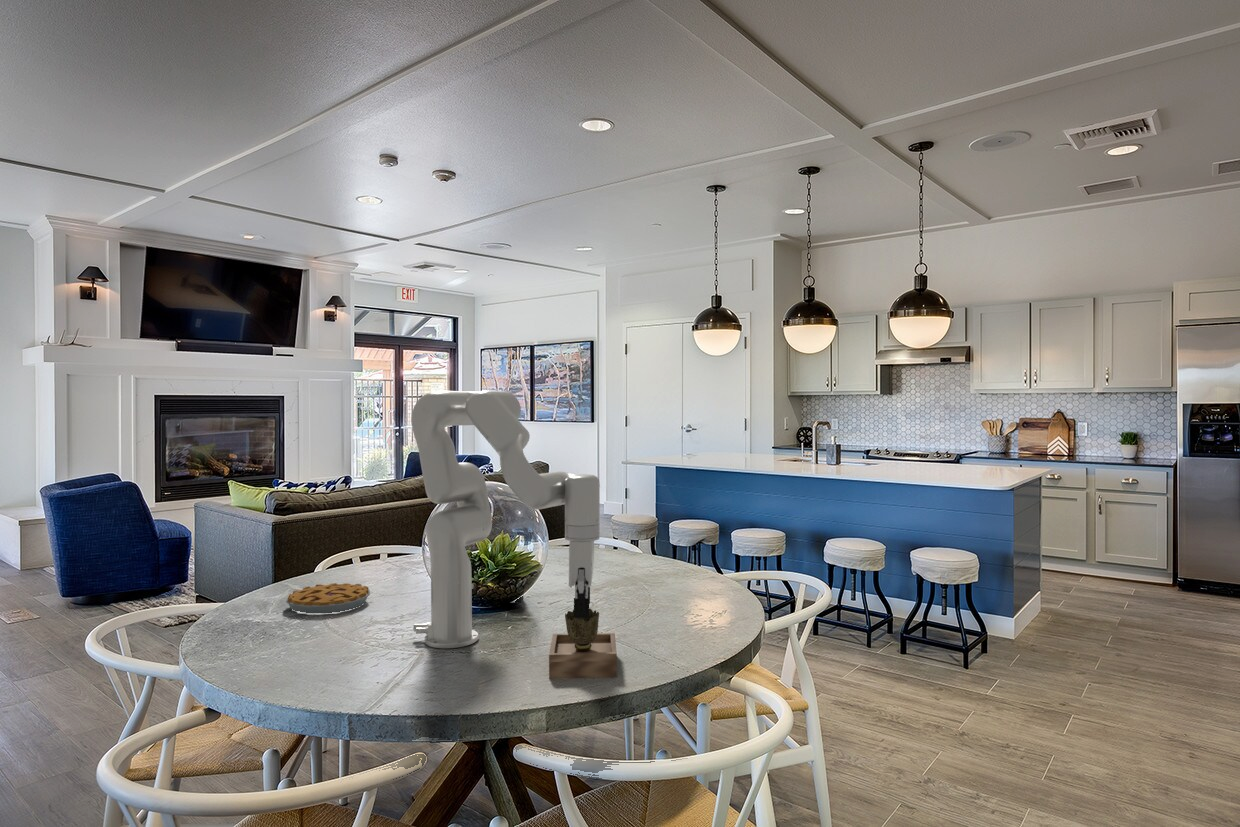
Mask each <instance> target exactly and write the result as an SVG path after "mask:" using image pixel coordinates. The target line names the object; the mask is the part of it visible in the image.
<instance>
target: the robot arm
mask: <svg viewBox="0 0 1240 827" xmlns="http://www.w3.org/2000/svg"><path fill="white" fill-rule="evenodd" d="M521 411H522V408H521V404H520V400H518V398H517V397H516V396H515V395H514V394H513V393H512V392H509V391H505V390H481V391H472V390H471V391H470V390H469V391H466V390H464V391H463V390H435V391H430V392H428V393H425V394H424V395H422V396H421V397H420V398H419V399H418V400H417V401H416V402H415V404H414V405H413V410H412V411H411V419H410V420H411V428H412V432H413V435H414V438H415V439H414V440H415V442H416V446H417V448H418V454H419V461H420V466H421V473H422V479H423V484H424V489H425V493H426V496H427V498H428V500H429V501H430V502H432V503H433V504H436V505H447V504H453V503H456V505H457V507H452V508H448V509H447V508H446V509H444V510H443V509H442V510H440V511H438V512H436V513H434V514H433V515H432V516H431V517H430V518H429V520H428V522H427V523H426V528H425V533H426V537H425V538H426V541H427V546H428V551H429V560H430V561H429V562H430V608H431V609H430V621H428V622H426V623H421V622H420V623H419V622H417V623H416V622H415V623H413V626H412V627H413V628H412V630H413V632H414V633H416V635H417V634H425V637H424V643H425V645H427V646H428V647H430V648H434V649H436V648H437V649H456V648H462V647H463V648H464V647H467V646H470V645H472V644H474V643H476V642H477V641H478V640H479V633H478V632H477V631H476V630H474V629H473V627H472V626H473V623H472V622H473V618H472V617H473V614H472V613H473V608H472V607H473V606H472V601H473V600H472V597H473V596H472V594H473V593H472V591H473V590H472V589H473V588H472V564H471V559H470V557H469V554H468V552H467V550H466V546H469V545H470V546H472V545H473V544H476V543H480V542H483V541H485V539H487V538H488V537H489V536H490V534H491V532H492V528H493V518H492V509H491V507H490V505H491V504H490V500H489V494H488V490H487V484H486V479H485V476H484V475H483V473H482V471H481V469H480V468H479V467H478V466H477V465H475V464H474V463H472V462H467V461H466V462H463V461H462V462H458V457H457V454H456V448H455V444H454V442H453V439H452V437H451V436H450V434H449V433H448V432H447V431H446V427H450V426H451V427H452V426H453V427H455V426H456V427H457V426H474V427H475V428H476V429H477V430H478V432H480V434H481V435H482V436H483V438H484V439H485V440H486V441H487V442H488V444H489V445H490V446H491V447H492V448H493V450H494V451H495V452H496V454H498V456H499V465H500V469H501V474H502V477H503V479H504V481H505V483H506V484H507V486H508V487H509V489H510V490H511V491H512V492H513V493H514V494H515V496H516V497H517V498H518V499H519V500H520V501H521V502H522V503H523V504H524V506H527V507H528V508H530V509H533V510H543V509H548V508H552V507H553V508H554V507H558V506H562V505H564V540H566V541H569V545H568V546H569V547H568V587H569V588H573V587H574V598H573V610H574V617H575V618H588V617H589V609H590V604H591V587H592V584H593V582H592V581H593V575H594V564H595V563H594V561H595V559H594V558H595V556H594V555H595V541H599V540H600V532H601V528H600V526H601V525H600V512H601V511H600V510H601V508H600V507H601V506H600V502H601V501H600V493H601V492H600V488H601V485H600V479H599V478H598V476H596V475H594V474H587V473H585V474H584V473H581V474H575V473H571V472H566V471H552V472H550V471H549V472H544V473H543V472H542V473H539V472H538V471H537V470H536V469H535V468H534V467H533V466H532V465H531V463H530V462H529V461H528V460H527V457H526V455H525V453H524V450H525V448H526V446H527V445H528V443H529V441H530V436H531V434H530V432H529V431H528V429H527V428H526V427H525V426H524V425H523V424H522V422H520V420H519V419H520V417H521V413H522V412H521Z"/></svg>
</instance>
